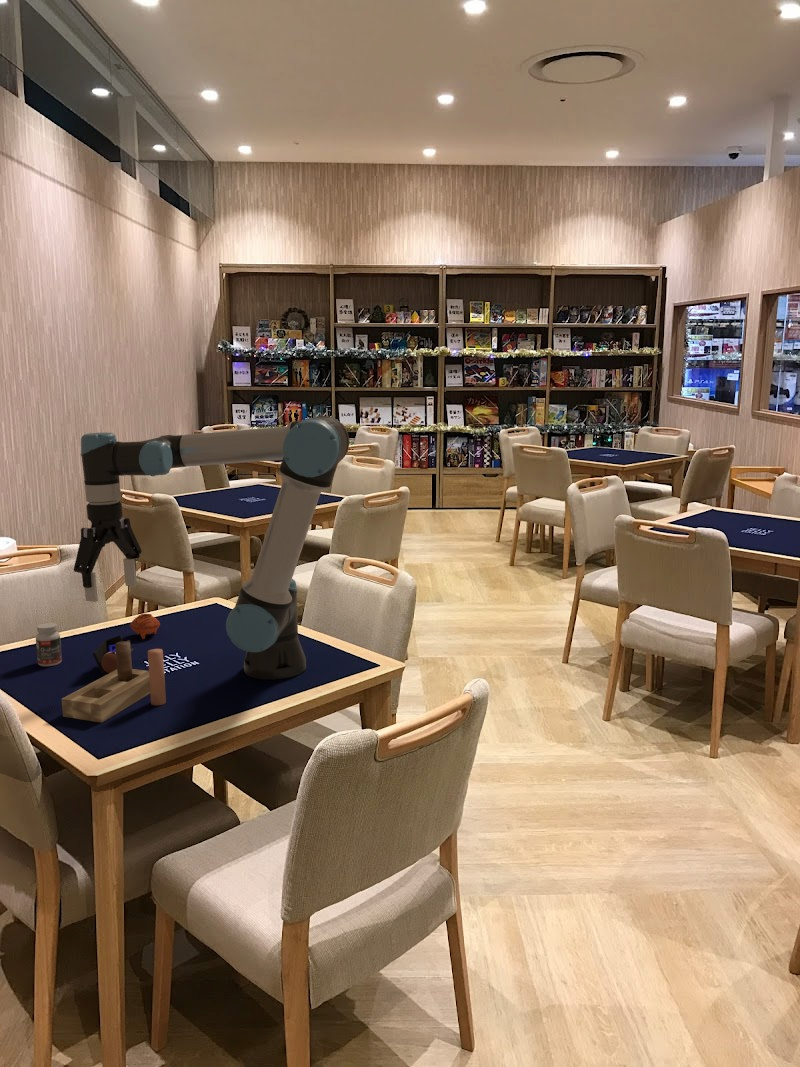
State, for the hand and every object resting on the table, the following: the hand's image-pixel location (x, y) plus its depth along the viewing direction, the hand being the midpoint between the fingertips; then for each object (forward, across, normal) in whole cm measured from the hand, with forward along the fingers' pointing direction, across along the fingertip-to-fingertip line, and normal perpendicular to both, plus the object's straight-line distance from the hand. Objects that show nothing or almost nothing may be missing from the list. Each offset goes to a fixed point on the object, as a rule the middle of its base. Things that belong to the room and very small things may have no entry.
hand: (112, 593), depth 197 cm
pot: (+22, -32, -17) cm, 43 cm away
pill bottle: (+22, -6, -26) cm, 35 cm away
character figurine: (+22, -7, -7) cm, 25 cm away
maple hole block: (+22, +9, +5) cm, 25 cm away
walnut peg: (+22, +4, +5) cm, 23 cm away
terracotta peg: (+22, +6, +15) cm, 28 cm away
